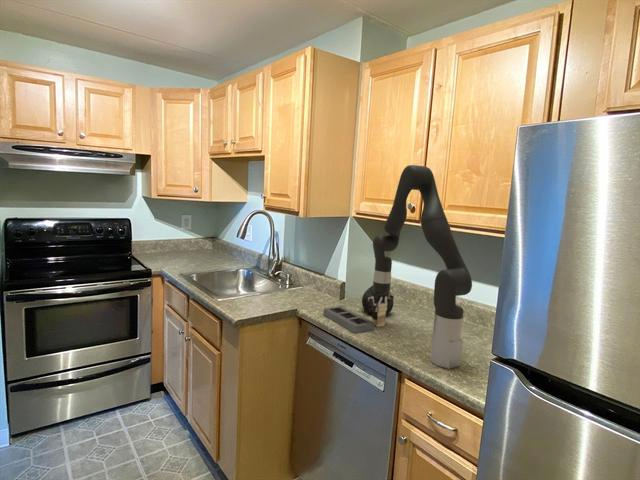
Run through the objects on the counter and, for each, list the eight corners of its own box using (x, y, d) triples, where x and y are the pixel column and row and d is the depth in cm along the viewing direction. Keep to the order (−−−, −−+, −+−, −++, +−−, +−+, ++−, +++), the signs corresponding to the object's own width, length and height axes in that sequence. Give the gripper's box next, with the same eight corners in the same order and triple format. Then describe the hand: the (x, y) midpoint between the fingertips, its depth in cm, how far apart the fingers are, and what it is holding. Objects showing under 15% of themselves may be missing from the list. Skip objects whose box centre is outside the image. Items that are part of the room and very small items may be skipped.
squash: (378, 309, 168) (391, 282, 174) (352, 302, 178) (365, 276, 184) (390, 325, 176) (402, 298, 182) (364, 317, 187) (377, 292, 193)
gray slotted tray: (373, 329, 158) (374, 323, 158) (354, 333, 153) (355, 326, 152) (340, 312, 178) (341, 306, 178) (323, 314, 173) (323, 308, 172)
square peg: (384, 325, 164) (386, 303, 163) (377, 326, 162) (379, 304, 161) (378, 322, 167) (380, 300, 166) (371, 323, 165) (373, 301, 164)
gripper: (375, 284, 155) (371, 323, 157) (400, 281, 163) (396, 319, 165) (363, 279, 161) (360, 318, 164) (388, 277, 169) (385, 314, 171)
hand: (378, 318), depth 164 cm, fingers closed on square peg, 4 cm apart
